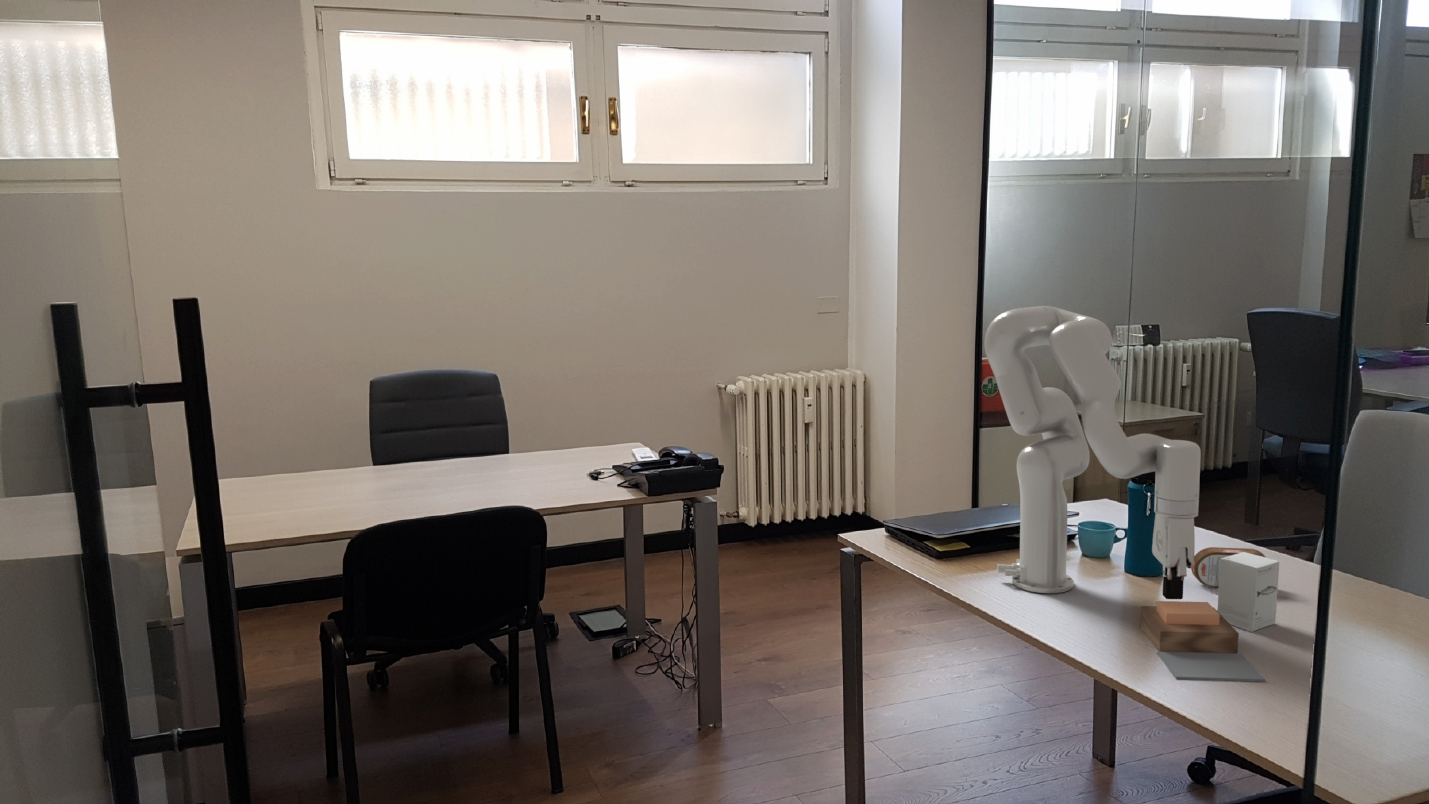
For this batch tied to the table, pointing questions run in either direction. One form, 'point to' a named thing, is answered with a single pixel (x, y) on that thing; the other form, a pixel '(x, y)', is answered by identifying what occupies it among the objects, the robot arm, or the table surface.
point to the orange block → (1187, 613)
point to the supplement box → (1248, 590)
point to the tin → (1214, 563)
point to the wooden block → (1188, 634)
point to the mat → (1210, 666)
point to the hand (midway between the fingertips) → (1172, 597)
